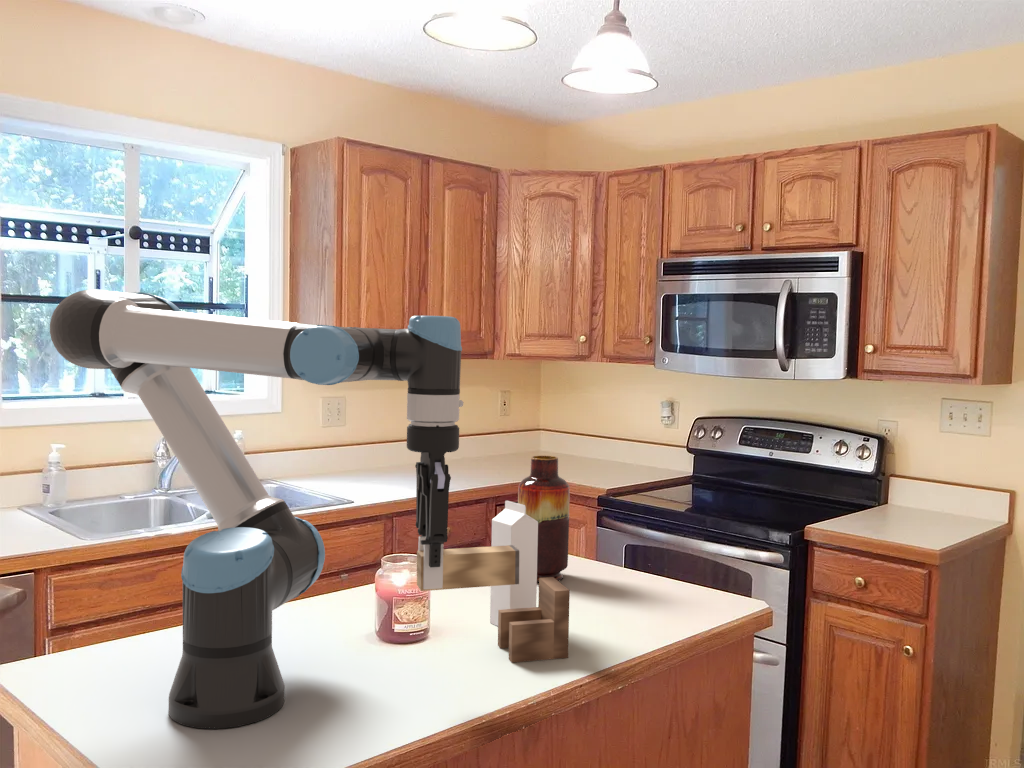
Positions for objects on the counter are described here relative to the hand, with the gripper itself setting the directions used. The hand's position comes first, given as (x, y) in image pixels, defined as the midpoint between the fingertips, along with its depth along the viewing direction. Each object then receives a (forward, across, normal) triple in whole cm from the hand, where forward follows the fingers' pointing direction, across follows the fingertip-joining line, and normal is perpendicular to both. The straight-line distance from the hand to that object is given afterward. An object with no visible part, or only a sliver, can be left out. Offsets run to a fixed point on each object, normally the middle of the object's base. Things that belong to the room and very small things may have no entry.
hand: (429, 583), depth 128 cm
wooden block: (0, 0, -5) cm, 5 cm away
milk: (+15, +25, -20) cm, 36 cm away
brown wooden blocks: (+15, +11, -19) cm, 27 cm away
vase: (+15, +54, -35) cm, 66 cm away
